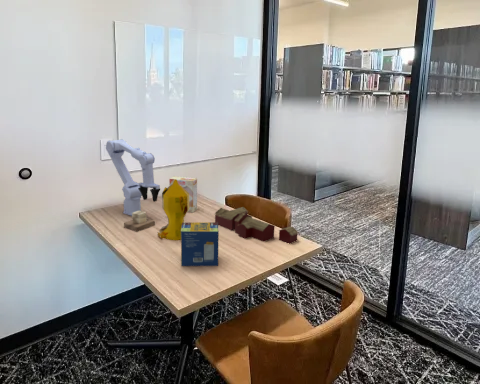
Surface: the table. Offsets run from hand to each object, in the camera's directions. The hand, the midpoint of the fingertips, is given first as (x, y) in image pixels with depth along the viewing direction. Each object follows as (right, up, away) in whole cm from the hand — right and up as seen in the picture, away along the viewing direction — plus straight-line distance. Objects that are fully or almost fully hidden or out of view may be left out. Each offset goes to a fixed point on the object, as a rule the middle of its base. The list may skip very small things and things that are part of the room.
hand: (150, 200), depth 201 cm
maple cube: (-3, -11, -10) cm, 15 cm away
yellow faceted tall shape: (+17, -17, -18) cm, 30 cm away
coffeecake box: (+15, -6, +20) cm, 26 cm away
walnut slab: (-3, -14, -9) cm, 17 cm away
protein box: (+32, -25, -46) cm, 61 cm away
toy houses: (+57, -17, -12) cm, 61 cm away
